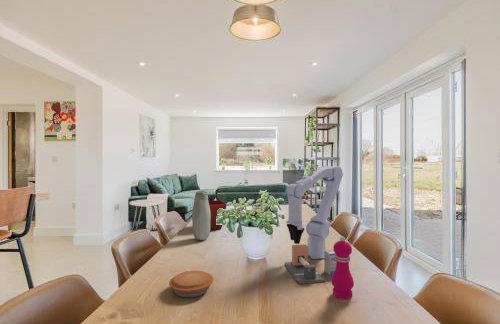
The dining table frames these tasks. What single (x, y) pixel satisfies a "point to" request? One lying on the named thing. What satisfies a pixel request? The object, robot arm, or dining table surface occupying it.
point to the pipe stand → (304, 272)
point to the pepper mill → (342, 270)
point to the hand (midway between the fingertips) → (295, 241)
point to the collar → (299, 253)
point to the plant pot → (215, 212)
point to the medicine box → (329, 262)
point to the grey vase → (201, 216)
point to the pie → (191, 283)
